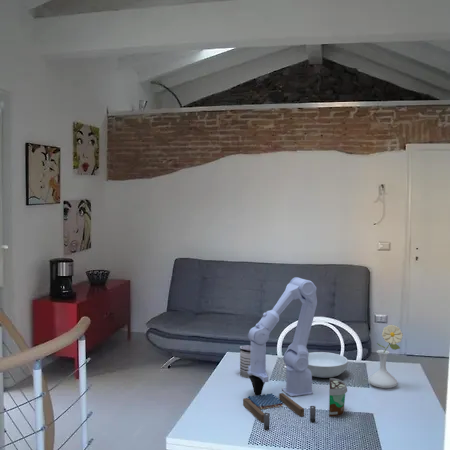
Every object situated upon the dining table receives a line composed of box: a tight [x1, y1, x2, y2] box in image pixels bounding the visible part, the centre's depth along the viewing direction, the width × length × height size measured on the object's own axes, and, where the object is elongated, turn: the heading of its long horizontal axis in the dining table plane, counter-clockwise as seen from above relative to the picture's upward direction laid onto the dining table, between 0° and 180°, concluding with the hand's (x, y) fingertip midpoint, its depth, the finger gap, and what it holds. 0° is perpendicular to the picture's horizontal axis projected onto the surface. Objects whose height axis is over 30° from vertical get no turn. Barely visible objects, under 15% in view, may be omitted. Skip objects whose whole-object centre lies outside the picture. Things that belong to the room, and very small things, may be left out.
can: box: [239, 344, 252, 379], centre depth 225 cm, size 11×11×12 cm
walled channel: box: [242, 392, 305, 424], centre depth 186 cm, size 16×16×2 cm
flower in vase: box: [367, 324, 404, 389], centre depth 211 cm, size 13×11×25 cm
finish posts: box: [263, 405, 316, 431], centre depth 174 cm, size 19×2×5 cm, turn 111°
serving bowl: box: [307, 351, 349, 379], centre depth 225 cm, size 21×21×7 cm
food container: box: [328, 377, 348, 418], centre depth 185 cm, size 12×6×10 cm, turn 168°
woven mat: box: [247, 393, 284, 410], centre depth 193 cm, size 10×11×2 cm
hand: (257, 395), depth 198 cm, fingers closed
